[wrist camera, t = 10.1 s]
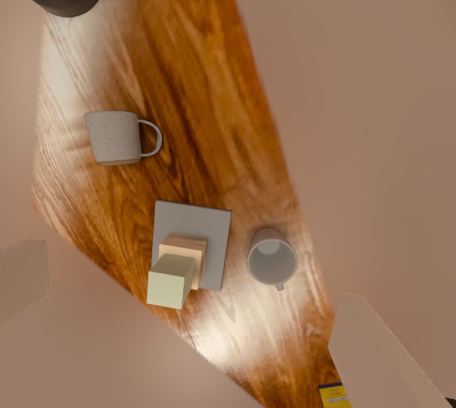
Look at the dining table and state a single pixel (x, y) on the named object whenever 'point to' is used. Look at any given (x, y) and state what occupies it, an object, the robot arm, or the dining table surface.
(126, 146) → the ceramic mug
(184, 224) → the board
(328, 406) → the supplement box
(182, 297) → the sage block
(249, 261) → the cup
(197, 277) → the base block
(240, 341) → the dining table surface
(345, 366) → the robot arm
